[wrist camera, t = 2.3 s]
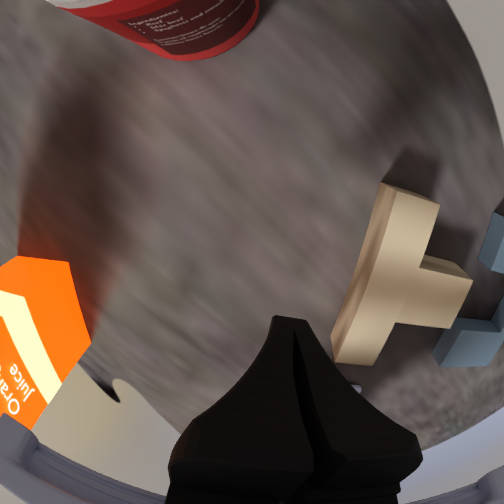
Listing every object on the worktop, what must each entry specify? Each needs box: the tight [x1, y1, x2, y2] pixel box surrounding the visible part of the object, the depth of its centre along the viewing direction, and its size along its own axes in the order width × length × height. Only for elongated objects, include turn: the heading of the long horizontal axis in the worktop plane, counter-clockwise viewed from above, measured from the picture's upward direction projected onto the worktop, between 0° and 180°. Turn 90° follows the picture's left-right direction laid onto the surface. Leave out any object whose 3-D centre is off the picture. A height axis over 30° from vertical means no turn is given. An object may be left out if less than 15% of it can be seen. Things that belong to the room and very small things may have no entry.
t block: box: [330, 182, 473, 366], centre depth 18 cm, size 12×8×3 cm, turn 170°
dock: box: [432, 212, 504, 367], centre depth 18 cm, size 13×7×2 cm, turn 170°
